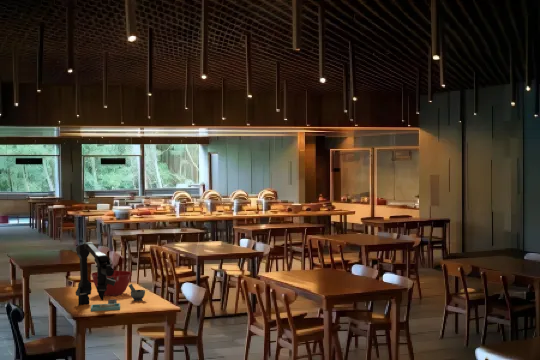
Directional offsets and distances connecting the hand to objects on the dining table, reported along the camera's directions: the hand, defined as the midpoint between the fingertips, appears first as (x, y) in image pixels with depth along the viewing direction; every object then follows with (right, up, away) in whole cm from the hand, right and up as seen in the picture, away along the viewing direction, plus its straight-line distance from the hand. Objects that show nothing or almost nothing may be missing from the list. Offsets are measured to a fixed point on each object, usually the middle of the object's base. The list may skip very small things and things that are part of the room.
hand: (102, 299), depth 453 cm
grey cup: (+4, -7, +11) cm, 13 cm away
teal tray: (+2, -7, 0) cm, 7 cm away
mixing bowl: (-6, -6, +55) cm, 56 cm away
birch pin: (-1, -6, 0) cm, 6 cm away
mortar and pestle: (+17, -6, +28) cm, 33 cm away
